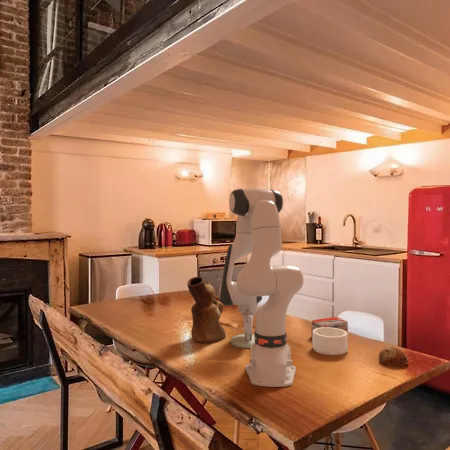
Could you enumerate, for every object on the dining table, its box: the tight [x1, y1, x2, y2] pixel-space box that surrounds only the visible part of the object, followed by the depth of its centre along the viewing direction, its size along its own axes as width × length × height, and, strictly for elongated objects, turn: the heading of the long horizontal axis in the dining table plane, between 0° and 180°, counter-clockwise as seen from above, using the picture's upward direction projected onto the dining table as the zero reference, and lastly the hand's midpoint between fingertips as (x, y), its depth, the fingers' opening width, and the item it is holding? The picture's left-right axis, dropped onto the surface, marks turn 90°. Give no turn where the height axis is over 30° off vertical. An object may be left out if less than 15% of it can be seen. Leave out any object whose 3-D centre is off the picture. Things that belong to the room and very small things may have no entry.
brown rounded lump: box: [378, 345, 409, 367], centre depth 160 cm, size 10×10×8 cm
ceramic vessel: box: [186, 276, 226, 344], centre depth 186 cm, size 16×22×30 cm
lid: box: [230, 332, 255, 349], centre depth 183 cm, size 16×16×5 cm
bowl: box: [311, 327, 349, 356], centre depth 174 cm, size 14×14×8 cm
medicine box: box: [310, 316, 349, 338], centre depth 192 cm, size 15×8×8 cm, turn 113°
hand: (248, 337), depth 183 cm, fingers open, 5 cm apart
